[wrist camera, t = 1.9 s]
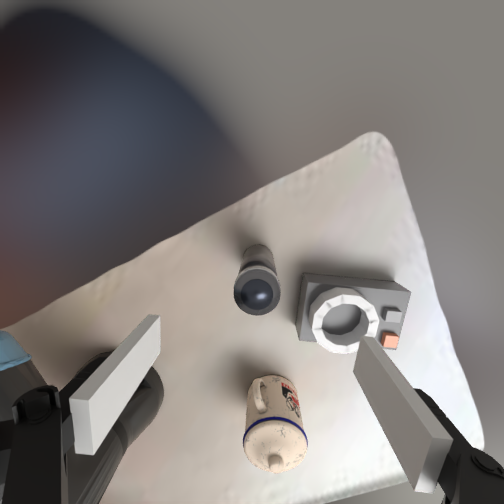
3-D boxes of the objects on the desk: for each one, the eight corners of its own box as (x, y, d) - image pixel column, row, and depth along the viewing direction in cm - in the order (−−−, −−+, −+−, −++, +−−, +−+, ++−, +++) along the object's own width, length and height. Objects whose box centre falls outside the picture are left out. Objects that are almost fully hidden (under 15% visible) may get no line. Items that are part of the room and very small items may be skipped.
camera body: (295, 325, 38) (302, 351, 32) (303, 273, 36) (311, 289, 30) (382, 334, 38) (406, 361, 32) (395, 281, 36) (423, 299, 30)
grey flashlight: (241, 272, 37) (231, 314, 24) (243, 242, 36) (234, 269, 23) (272, 275, 37) (278, 319, 24) (275, 245, 36) (284, 274, 23)
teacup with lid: (305, 406, 42) (322, 484, 31) (258, 421, 43) (257, 502, 32) (280, 351, 40) (288, 414, 28) (231, 369, 41) (219, 436, 30)
